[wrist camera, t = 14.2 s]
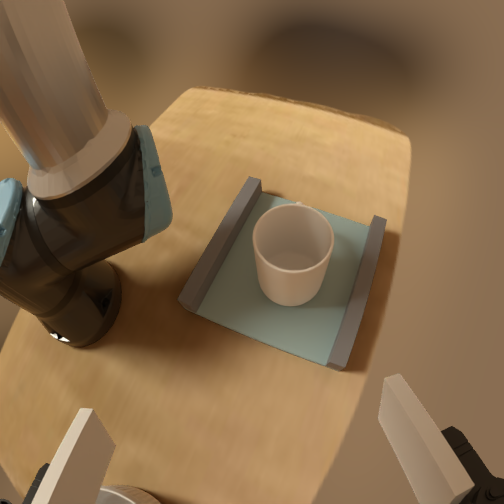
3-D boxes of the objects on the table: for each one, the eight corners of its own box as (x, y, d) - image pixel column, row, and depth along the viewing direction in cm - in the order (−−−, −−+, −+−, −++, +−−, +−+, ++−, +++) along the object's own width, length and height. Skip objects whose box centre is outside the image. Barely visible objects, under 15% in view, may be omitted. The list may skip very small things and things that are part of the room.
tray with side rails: (339, 371, 34) (345, 367, 31) (184, 308, 40) (177, 299, 37) (380, 232, 43) (386, 219, 40) (251, 191, 49) (249, 176, 46)
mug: (327, 235, 43) (338, 186, 34) (317, 313, 38) (330, 279, 28) (269, 227, 45) (266, 177, 35) (252, 302, 39) (244, 265, 30)
